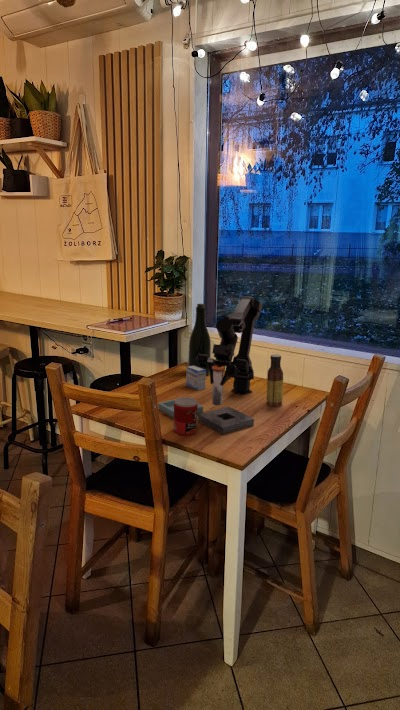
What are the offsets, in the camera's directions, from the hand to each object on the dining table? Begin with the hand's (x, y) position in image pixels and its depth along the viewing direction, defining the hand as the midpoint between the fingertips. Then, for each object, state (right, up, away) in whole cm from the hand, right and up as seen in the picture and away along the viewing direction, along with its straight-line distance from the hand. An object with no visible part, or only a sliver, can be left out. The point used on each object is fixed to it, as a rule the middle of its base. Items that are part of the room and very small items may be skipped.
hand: (216, 384), depth 167 cm
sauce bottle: (+23, -9, +21) cm, 33 cm away
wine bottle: (-6, +1, +57) cm, 58 cm away
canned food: (-11, -16, -6) cm, 20 cm away
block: (+3, -14, +1) cm, 14 cm away
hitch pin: (0, -7, +3) cm, 8 cm away
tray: (-13, -11, +11) cm, 20 cm away
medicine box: (-8, -4, +38) cm, 39 cm away
